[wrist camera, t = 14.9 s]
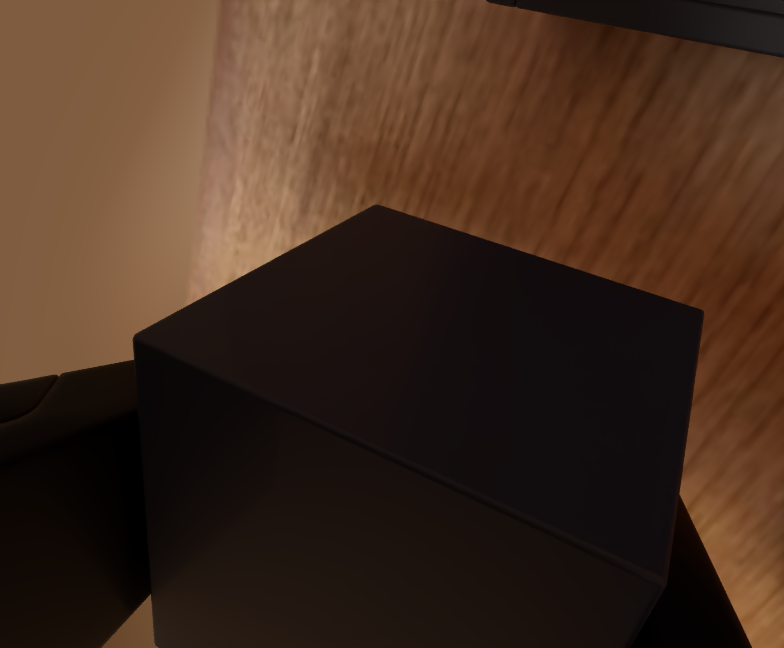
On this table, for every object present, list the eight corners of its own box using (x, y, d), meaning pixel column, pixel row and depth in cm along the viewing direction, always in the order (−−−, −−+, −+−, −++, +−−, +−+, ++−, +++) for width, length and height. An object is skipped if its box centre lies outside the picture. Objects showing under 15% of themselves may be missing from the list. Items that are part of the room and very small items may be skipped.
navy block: (341, 441, 11) (152, 646, 8) (375, 202, 9) (128, 334, 5) (590, 559, 10) (501, 876, 6) (705, 309, 8) (669, 584, 4)
